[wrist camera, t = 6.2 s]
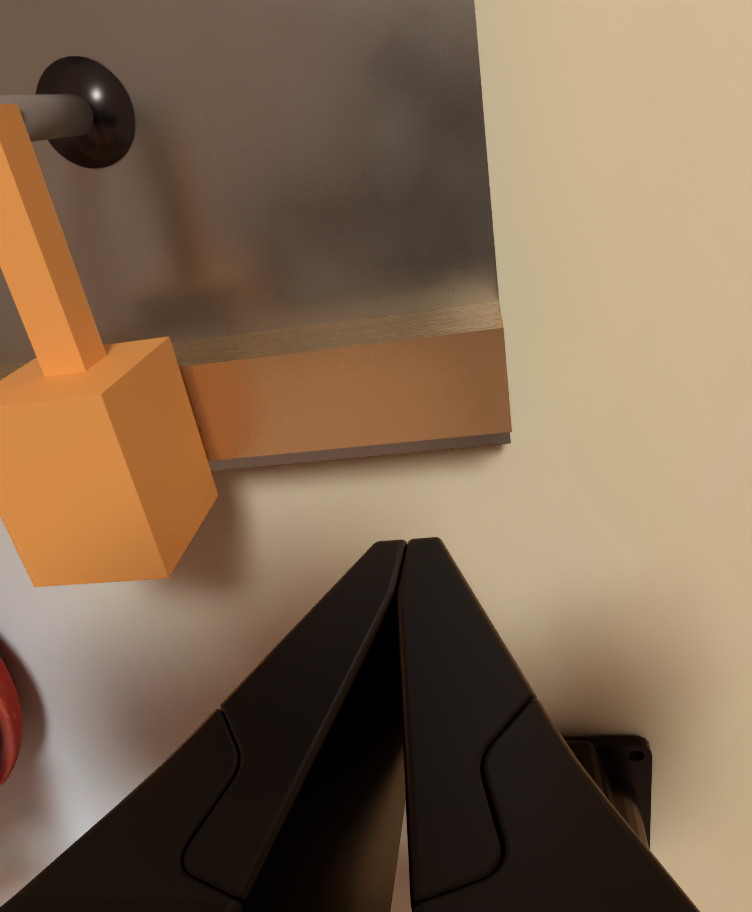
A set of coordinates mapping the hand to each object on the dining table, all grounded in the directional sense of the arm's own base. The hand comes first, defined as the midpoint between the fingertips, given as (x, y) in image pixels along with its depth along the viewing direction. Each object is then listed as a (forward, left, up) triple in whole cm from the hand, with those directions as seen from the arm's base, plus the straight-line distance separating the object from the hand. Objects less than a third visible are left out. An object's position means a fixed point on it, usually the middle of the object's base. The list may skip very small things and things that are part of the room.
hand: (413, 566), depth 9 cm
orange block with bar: (+2, +7, -8) cm, 11 cm away
